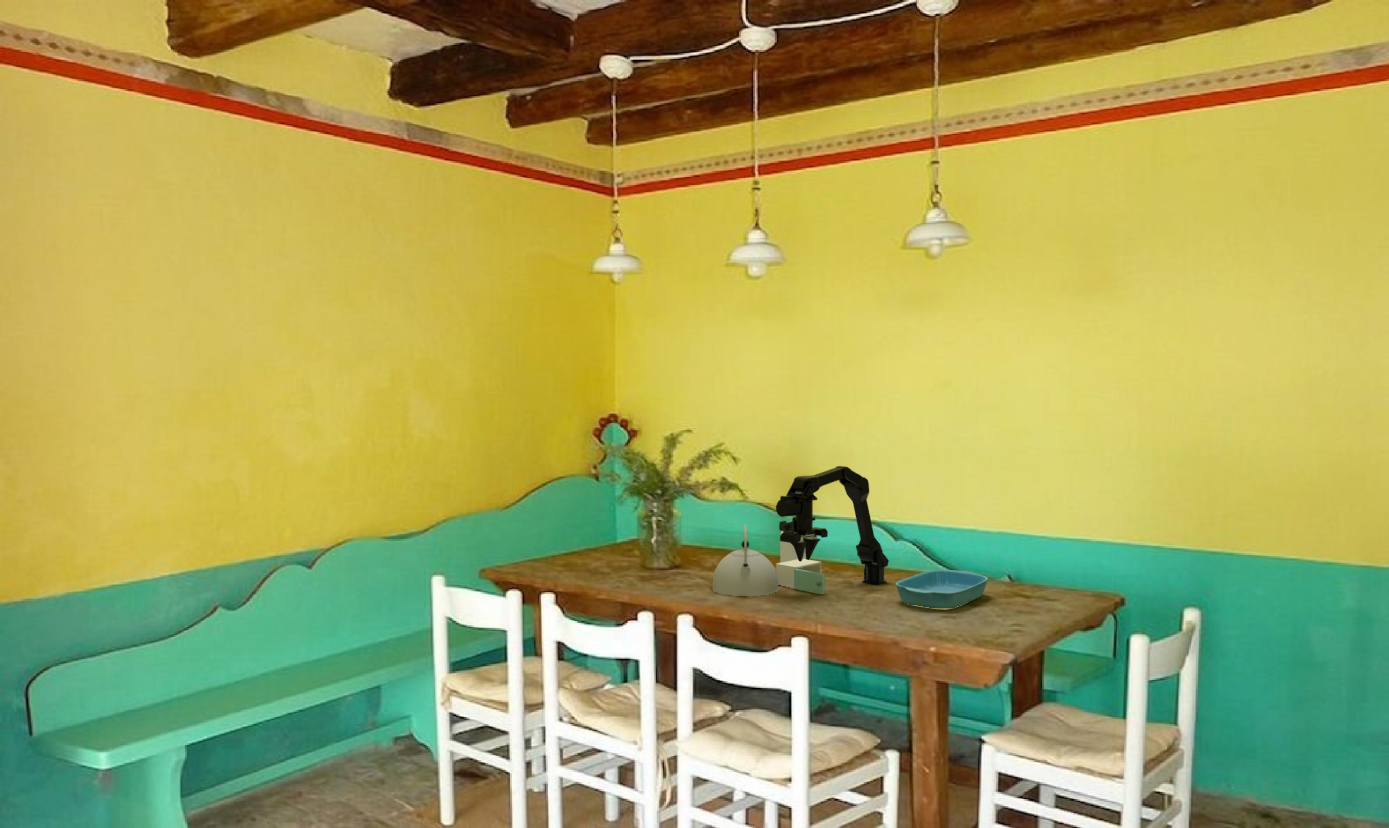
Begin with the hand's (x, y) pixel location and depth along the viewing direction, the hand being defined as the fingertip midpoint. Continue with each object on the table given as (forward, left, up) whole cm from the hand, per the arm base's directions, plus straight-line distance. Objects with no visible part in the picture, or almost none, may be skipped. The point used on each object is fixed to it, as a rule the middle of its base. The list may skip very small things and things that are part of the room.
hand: (804, 560), depth 334 cm
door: (+2, -5, -11) cm, 13 cm away
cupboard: (+13, -14, -12) cm, 23 cm away
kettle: (+20, +7, -12) cm, 25 cm away
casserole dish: (-36, -28, -12) cm, 47 cm away
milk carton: (+26, -26, -12) cm, 38 cm away
